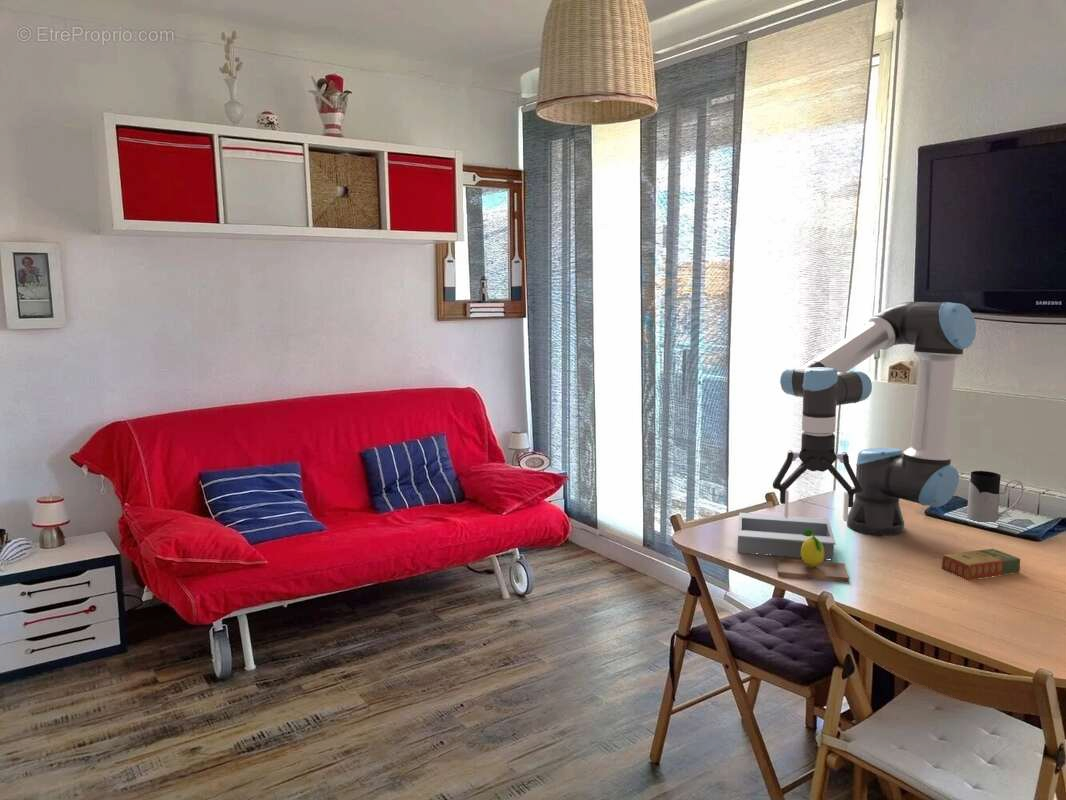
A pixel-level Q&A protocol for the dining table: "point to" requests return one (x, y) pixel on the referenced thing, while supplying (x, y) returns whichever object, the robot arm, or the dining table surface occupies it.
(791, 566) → the walnut board
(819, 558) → the lemon
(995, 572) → the carton
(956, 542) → the dining table surface
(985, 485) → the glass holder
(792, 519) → the gray open box
